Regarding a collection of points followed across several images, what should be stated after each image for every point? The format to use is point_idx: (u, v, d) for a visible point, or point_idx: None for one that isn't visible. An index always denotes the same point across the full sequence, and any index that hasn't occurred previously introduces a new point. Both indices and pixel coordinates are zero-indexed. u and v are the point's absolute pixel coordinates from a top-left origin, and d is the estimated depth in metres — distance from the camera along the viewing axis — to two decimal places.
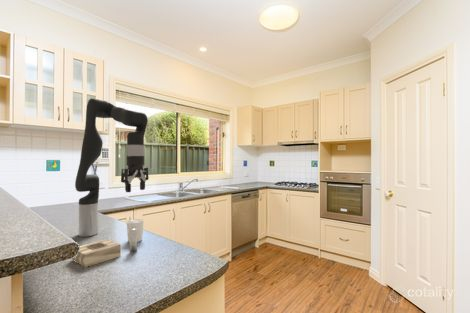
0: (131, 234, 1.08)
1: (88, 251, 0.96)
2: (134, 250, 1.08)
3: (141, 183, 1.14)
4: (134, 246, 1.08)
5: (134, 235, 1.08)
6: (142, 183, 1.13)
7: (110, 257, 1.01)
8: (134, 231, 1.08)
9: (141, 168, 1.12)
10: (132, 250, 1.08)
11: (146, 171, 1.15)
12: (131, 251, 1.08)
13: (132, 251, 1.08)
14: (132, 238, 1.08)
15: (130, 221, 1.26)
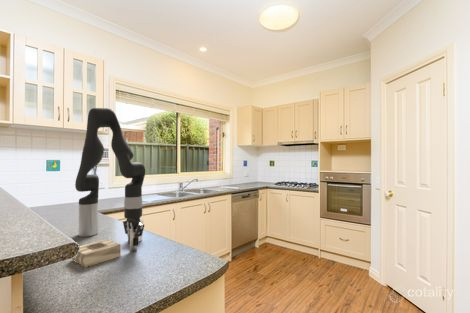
0: (131, 234, 1.08)
1: (88, 251, 0.96)
2: (134, 250, 1.08)
3: None
4: (134, 246, 1.08)
5: None
6: None
7: (110, 257, 1.01)
8: None
9: None
10: (132, 250, 1.08)
11: None
12: (131, 251, 1.08)
13: (132, 251, 1.08)
14: (132, 238, 1.08)
15: None
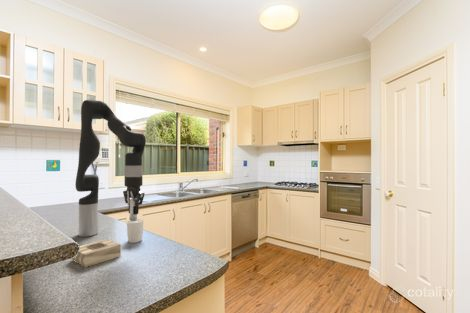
0: (131, 203, 1.08)
1: (88, 251, 0.96)
2: (134, 219, 1.09)
3: None
4: (134, 215, 1.08)
5: None
6: None
7: (110, 257, 1.01)
8: None
9: None
10: (132, 219, 1.08)
11: None
12: (131, 220, 1.08)
13: (132, 220, 1.08)
14: (132, 207, 1.08)
15: (130, 221, 1.26)
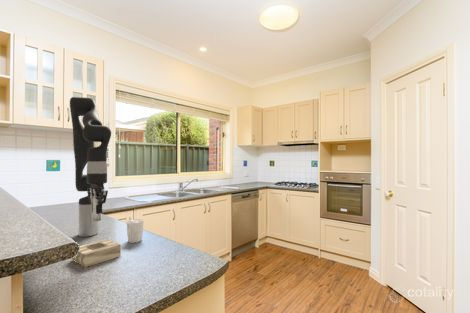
0: (94, 201, 1.01)
1: (88, 251, 0.96)
2: (97, 218, 1.01)
3: None
4: (97, 214, 1.01)
5: None
6: None
7: (110, 257, 1.01)
8: None
9: None
10: (95, 218, 1.01)
11: None
12: (94, 219, 1.01)
13: (95, 219, 1.01)
14: (95, 205, 1.01)
15: (130, 221, 1.26)
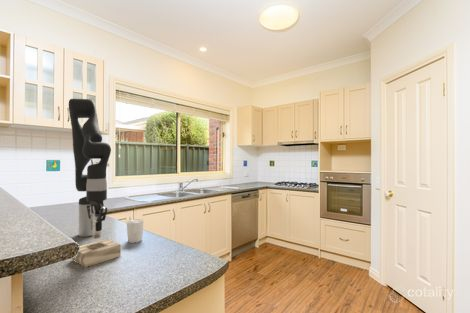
0: (94, 218, 1.01)
1: (88, 251, 0.96)
2: (97, 236, 1.01)
3: None
4: (96, 231, 1.01)
5: None
6: None
7: (110, 257, 1.01)
8: None
9: None
10: (95, 235, 1.01)
11: None
12: (93, 237, 1.01)
13: (95, 237, 1.01)
14: (95, 223, 1.01)
15: (130, 221, 1.26)
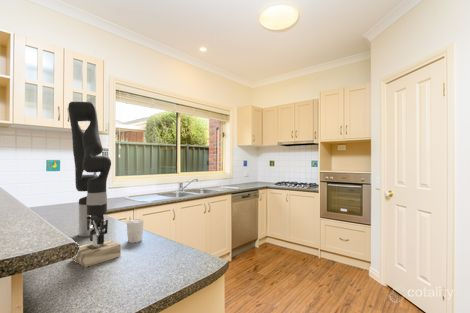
0: (94, 239, 1.01)
1: (88, 251, 0.96)
2: None
3: None
4: None
5: (97, 240, 1.01)
6: (94, 233, 1.04)
7: (110, 257, 1.01)
8: (97, 236, 1.01)
9: None
10: None
11: None
12: None
13: None
14: (95, 244, 1.01)
15: (130, 221, 1.26)
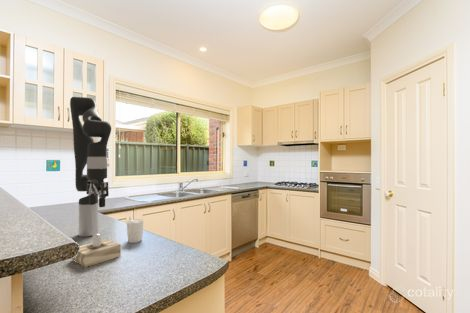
0: (94, 239, 1.01)
1: (88, 251, 0.96)
2: None
3: (92, 197, 1.05)
4: None
5: (97, 240, 1.01)
6: (93, 197, 1.05)
7: (110, 257, 1.01)
8: (97, 236, 1.01)
9: None
10: None
11: None
12: None
13: None
14: (95, 244, 1.01)
15: (130, 221, 1.26)
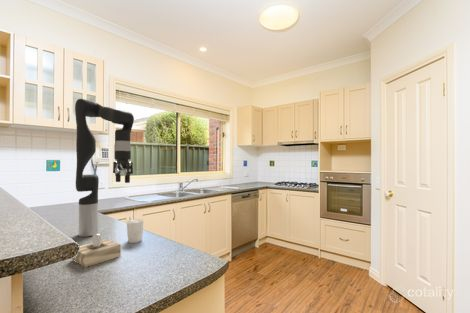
0: (94, 239, 1.01)
1: (88, 251, 0.96)
2: None
3: (118, 176, 1.24)
4: None
5: (97, 240, 1.01)
6: (119, 176, 1.25)
7: (110, 257, 1.01)
8: (97, 236, 1.01)
9: None
10: None
11: None
12: None
13: None
14: (95, 244, 1.01)
15: (130, 221, 1.26)
